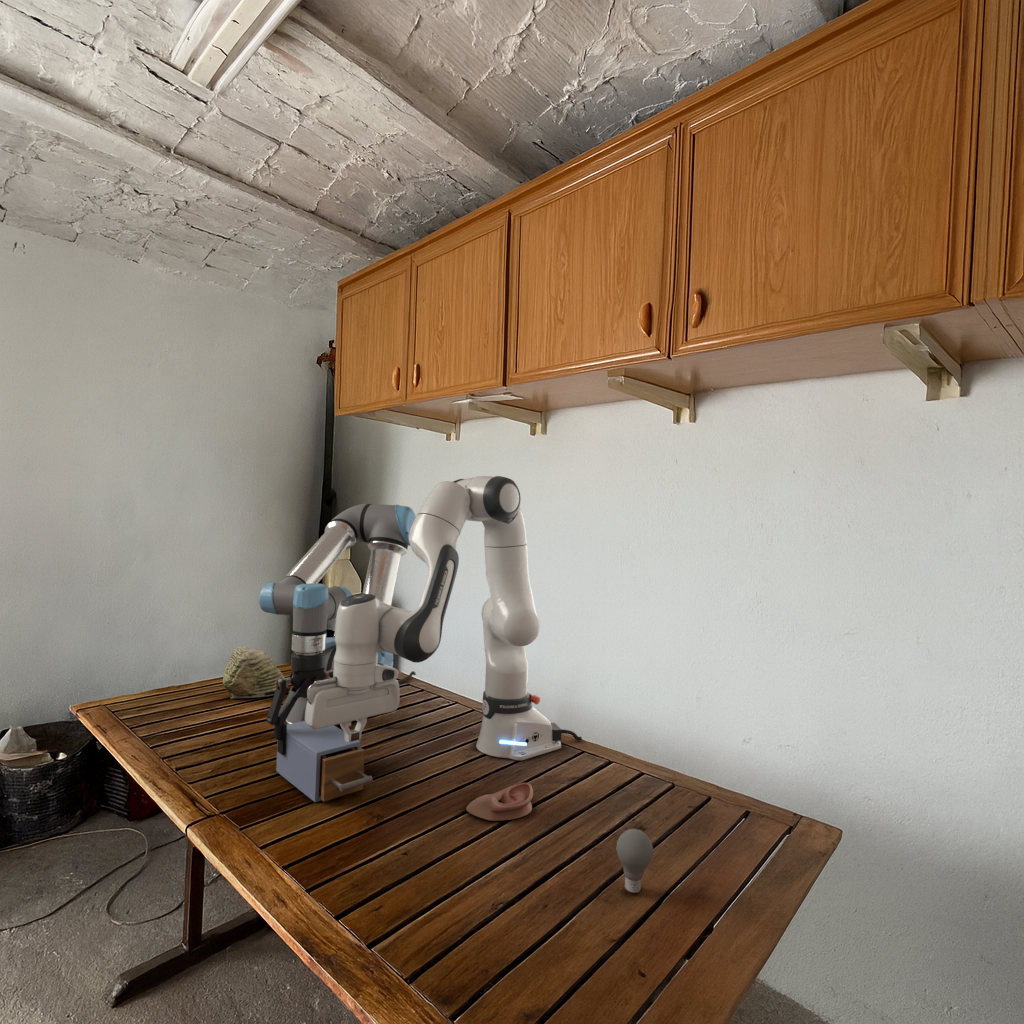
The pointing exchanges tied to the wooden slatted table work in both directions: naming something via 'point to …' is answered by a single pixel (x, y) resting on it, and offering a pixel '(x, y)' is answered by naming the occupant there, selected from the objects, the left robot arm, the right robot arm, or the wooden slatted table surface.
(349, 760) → the drawer
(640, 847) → the light bulb
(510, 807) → the anatomical model
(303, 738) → the cabinet
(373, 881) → the wooden slatted table surface
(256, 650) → the fossil
